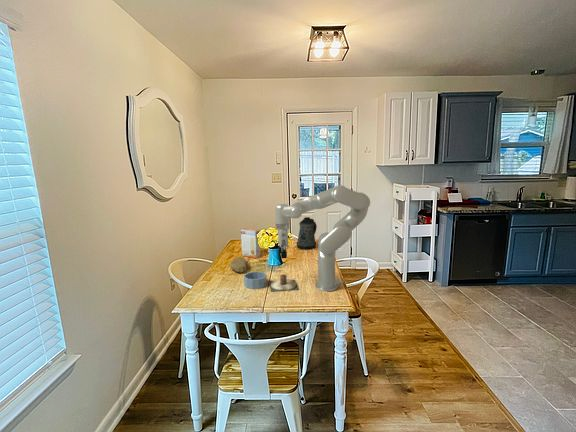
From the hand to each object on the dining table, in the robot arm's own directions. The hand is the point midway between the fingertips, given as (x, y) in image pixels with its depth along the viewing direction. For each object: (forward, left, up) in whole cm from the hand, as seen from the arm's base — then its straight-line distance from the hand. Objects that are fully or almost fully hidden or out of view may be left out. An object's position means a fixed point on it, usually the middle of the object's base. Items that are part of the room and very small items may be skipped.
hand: (282, 255), depth 178 cm
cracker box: (+17, -61, -19) cm, 66 cm away
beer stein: (-30, -80, -19) cm, 87 cm away
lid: (0, 0, -18) cm, 18 cm away
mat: (0, 0, -18) cm, 18 cm away
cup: (+16, -4, -18) cm, 25 cm away
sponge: (+25, -34, -19) cm, 46 cm away
